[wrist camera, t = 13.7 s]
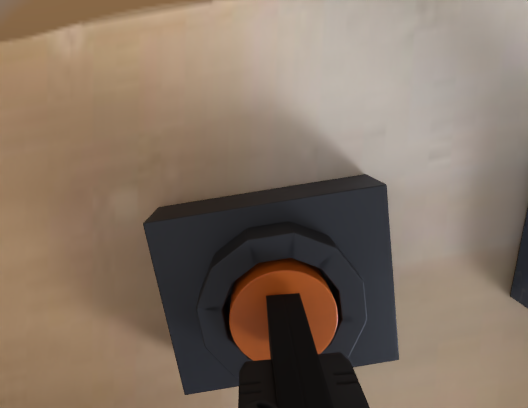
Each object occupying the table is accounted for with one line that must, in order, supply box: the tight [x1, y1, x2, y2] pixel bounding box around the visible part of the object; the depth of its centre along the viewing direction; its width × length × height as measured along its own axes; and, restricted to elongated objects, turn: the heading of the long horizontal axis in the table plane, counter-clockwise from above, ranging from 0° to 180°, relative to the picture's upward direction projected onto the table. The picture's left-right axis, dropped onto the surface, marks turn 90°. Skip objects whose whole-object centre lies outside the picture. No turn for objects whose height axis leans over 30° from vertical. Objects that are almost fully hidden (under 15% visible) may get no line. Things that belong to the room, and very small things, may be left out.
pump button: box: [229, 258, 338, 361], centre depth 18 cm, size 5×5×2 cm
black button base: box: [143, 174, 399, 395], centre depth 20 cm, size 12×10×5 cm
